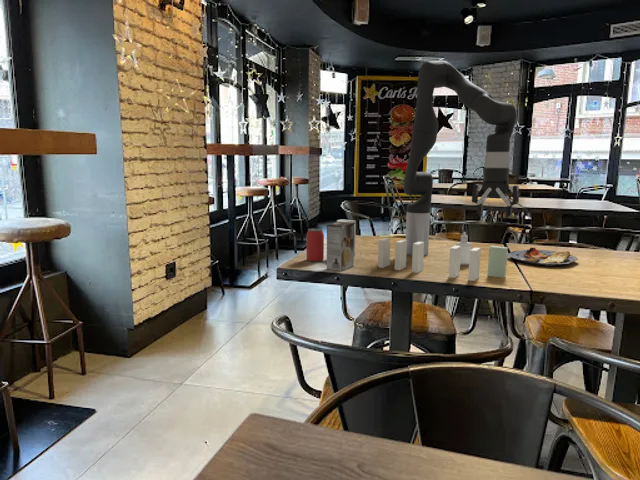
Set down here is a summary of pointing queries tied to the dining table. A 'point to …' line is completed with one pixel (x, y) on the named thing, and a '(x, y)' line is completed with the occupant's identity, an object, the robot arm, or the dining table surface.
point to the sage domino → (497, 261)
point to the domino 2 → (400, 254)
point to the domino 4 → (454, 261)
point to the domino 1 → (384, 252)
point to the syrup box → (354, 228)
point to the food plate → (543, 257)
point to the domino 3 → (418, 257)
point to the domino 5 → (474, 264)
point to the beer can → (315, 245)
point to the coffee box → (340, 245)
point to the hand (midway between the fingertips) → (493, 216)
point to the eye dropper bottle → (464, 249)
